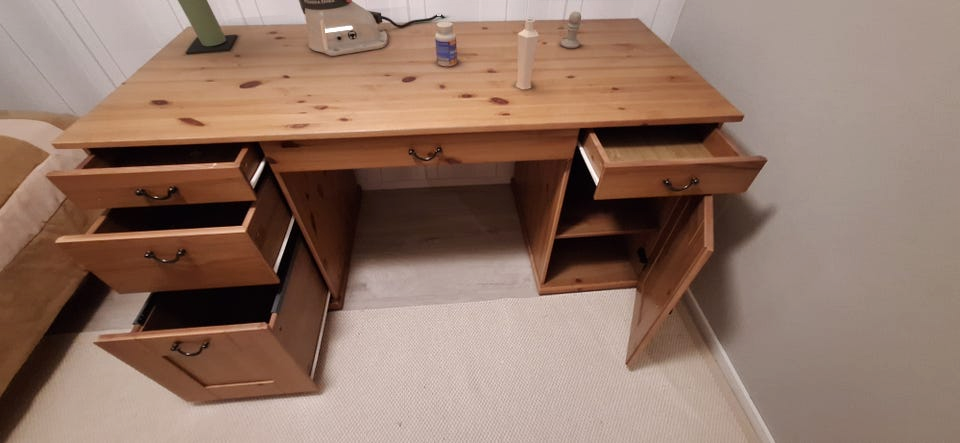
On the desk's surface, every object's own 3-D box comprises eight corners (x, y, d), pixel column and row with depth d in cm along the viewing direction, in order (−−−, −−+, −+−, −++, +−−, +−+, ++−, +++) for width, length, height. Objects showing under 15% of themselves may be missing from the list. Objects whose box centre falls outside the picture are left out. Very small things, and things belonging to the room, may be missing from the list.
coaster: (237, 36, 113) (236, 34, 113) (229, 51, 106) (228, 48, 105) (197, 39, 112) (196, 37, 111) (186, 54, 104) (185, 52, 104)
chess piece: (582, 44, 111) (588, 11, 104) (574, 50, 108) (580, 16, 101) (565, 40, 113) (571, 7, 106) (557, 46, 110) (562, 12, 103)
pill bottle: (454, 67, 99) (452, 28, 92) (434, 66, 100) (431, 27, 93) (459, 59, 103) (457, 21, 96) (440, 57, 104) (437, 19, 97)
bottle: (228, 36, 111) (195, -31, 99) (223, 44, 106) (188, -24, 94) (205, 38, 110) (169, -28, 98) (199, 47, 106) (160, -22, 93)
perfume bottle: (512, 81, 94) (517, 16, 83) (530, 81, 94) (537, 16, 83) (515, 90, 91) (520, 24, 80) (533, 90, 91) (541, 23, 80)
